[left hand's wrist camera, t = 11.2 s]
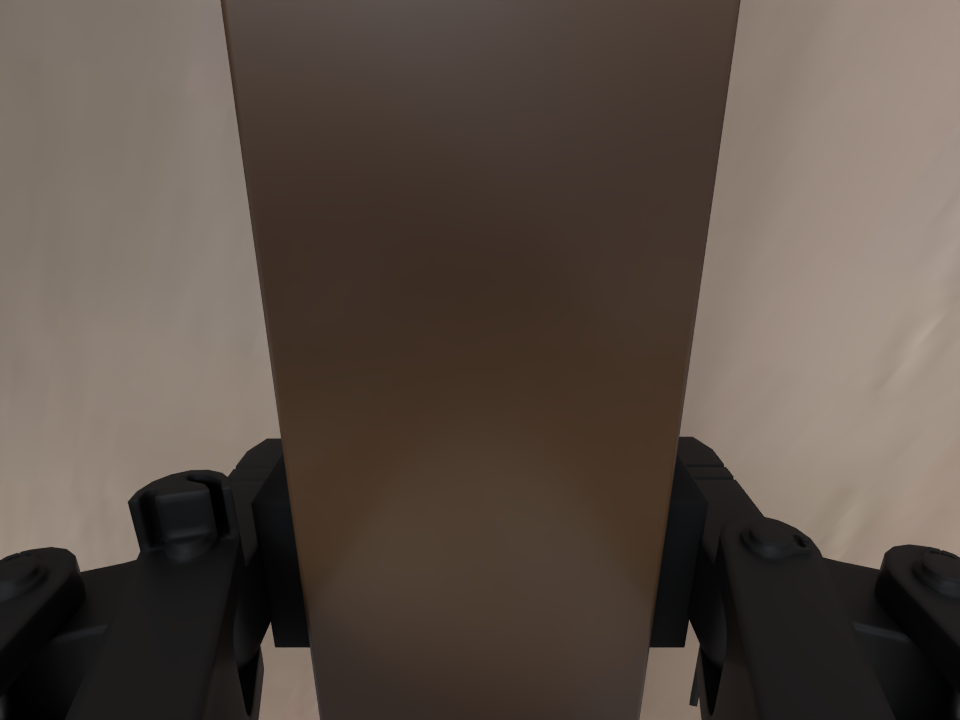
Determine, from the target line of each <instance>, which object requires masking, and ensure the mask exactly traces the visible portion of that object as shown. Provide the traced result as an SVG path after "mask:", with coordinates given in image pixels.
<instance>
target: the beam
mask: <svg viewBox="0 0 960 720" xmlns="http://www.w3.org/2000/svg"><path fill="white" fill-rule="evenodd" d="M221 7H222V15H223V22H224V29H225V36H226V43H227V51H228V58H229V65H230V72H231V79H232V87H233V94H234V101H235V108H236V116H237V123H238V130H239V137H240V144H241V152H242V159H243V166H244V173H245V181H246V188H247V195H248V202H249V209H250V217H251V224H252V231H253V238H254V246H255V253H256V260H257V267H258V274H259V282H260V289H261V296H262V303H263V311H264V318H265V325H266V332H267V339H268V347H269V354H270V361H271V368H272V375H273V383H274V390H275V397H276V404H277V412H278V419H279V426H280V433H281V440H282V448H283V455H284V462H285V469H286V477H287V484H288V491H289V498H290V505H291V513H292V520H293V527H294V534H295V542H296V549H297V556H298V563H299V570H300V578H301V585H302V592H303V599H304V607H305V614H306V621H307V628H308V635H309V643H310V650H311V657H312V664H313V671H314V679H315V686H316V693H317V700H318V708H319V715H320V720H639V718H640V711H641V704H642V697H643V690H644V682H645V675H646V668H647V661H648V654H649V647H650V640H651V633H652V626H653V618H654V611H655V604H656V597H657V590H658V583H659V576H660V569H661V562H662V555H663V547H664V540H665V533H666V526H667V519H668V512H669V505H670V498H671V491H672V483H673V476H674V469H675V462H676V455H677V448H678V441H679V434H680V427H681V419H682V412H683V405H684V398H685V391H686V384H687V377H688V370H689V363H690V356H691V348H692V341H693V334H694V327H695V320H696V313H697V306H698V299H699V292H700V284H701V277H702V270H703V263H704V256H705V249H706V242H707V235H708V228H709V220H710V213H711V206H712V199H713V192H714V185H715V178H716V171H717V164H718V157H719V149H720V142H721V135H722V128H723V121H724V114H725V107H726V100H727V93H728V85H729V78H730V71H731V64H732V57H733V50H734V43H735V36H736V29H737V22H738V14H739V7H740V0H221Z"/></svg>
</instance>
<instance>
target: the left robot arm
mask: <svg viewBox="0 0 960 720" xmlns="http://www.w3.org/2000/svg"><path fill="white" fill-rule="evenodd" d="M128 505H129V508H130V512H131V516H132V520H133V524H134V528H135V532H136V535H137V539H138V543H139V547H140V554H139V556H138V558H137V560H134V561H130V562H127V563H123V564H118V565H113V566H108V567H103V568H99V569H94V570H89V571H84V572H80V569H79V566H78V563H77V559H76V556H75V555H74V554H72V553H71V552H70V551H68V550H67V549H62V548H54V547H48V548H40V549H32V550H27V551H23V552H21V553H16V554H13V555H10V556H7V557H5V558H4V559H2V560H0V720H258V719H259V710H260V702H261V693H262V684H263V675H264V665H263V658H262V652H261V647H260V645H261V642H262V640H263V638H264V635H265V633H266V631H267V629H268V626H269V624H270V622H271V625H272V631H273V637H274V643H275V647H310V643H309V635H308V628H307V621H306V614H305V607H304V599H303V592H302V585H301V578H300V570H299V563H298V556H297V549H296V542H295V534H294V527H293V520H292V513H291V505H290V498H289V491H288V484H287V477H286V469H285V462H284V455H283V448H282V440H281V439H266V440H264V441H263V442H261V443H260V444H258V445H257V446H255V447H253V448H252V449H250V450H249V451H247V453H246V454H245V455H244V456H243V458H242V459H241V460H240V462H239V463H238V464H237V466H236V469H234V470H233V471H232V472H231V473H230V475H229V476H228V477H227V476H225V475H224V474H223V473H220V472H216V471H211V470H190V471H185V472H180V473H176V474H171V475H169V476H166V477H163V478H161V479H158V480H156V481H153V482H151V483H150V484H148V485H147V486H145V487H143V488H142V489H140V490H138V491H137V492H136V493H135V494H134V496H133V497H132V498H131V499H130V500H129V501H128ZM689 620H690V622H691V624H692V627H693V629H694V631H695V633H696V636H697V638H698V640H699V643H700V647H699V652H698V658H697V663H696V669H695V675H694V680H693V686H692V691H691V697H690V704H689V705H692V706H697V704H698V699H699V700H700V709H701V718H702V720H960V557H958V556H956V555H955V554H952V553H949V552H946V551H944V550H942V551H941V550H940V549H936V548H932V547H925V546H917V545H902V546H894V547H892V548H891V549H890V550H888V551H887V552H886V553H885V555H884V558H883V561H882V564H881V567H880V570H878V569H873V568H869V567H864V566H859V565H854V564H849V563H844V562H839V561H835V560H831V559H827V558H824V557H822V555H821V553H820V550H819V549H818V548H817V546H816V545H815V544H814V542H813V541H812V540H811V539H810V538H809V537H808V536H806V535H805V534H803V533H802V532H801V531H799V530H798V529H797V528H794V527H792V526H790V525H788V524H786V523H783V522H781V521H779V520H775V519H771V518H767V517H764V516H763V515H762V513H761V512H760V511H759V509H758V508H757V507H756V505H755V504H754V503H753V502H752V500H751V499H750V498H749V496H748V495H747V494H746V492H745V491H744V490H743V489H742V487H741V486H740V485H739V483H738V482H737V481H736V480H734V479H733V475H732V474H731V473H730V472H729V470H728V469H727V468H726V467H724V464H723V462H722V461H721V460H720V459H719V457H718V456H717V455H716V453H715V452H714V451H713V449H711V448H709V447H708V446H706V445H705V444H703V443H702V442H700V441H698V440H697V439H695V438H694V437H679V441H678V448H677V455H676V462H675V469H674V476H673V483H672V491H671V498H670V505H669V512H668V519H667V526H666V533H665V540H664V547H663V555H662V562H661V569H660V576H659V583H658V590H657V597H656V604H655V611H654V618H653V626H652V633H651V640H650V647H685V641H686V635H687V629H688V623H689Z"/></svg>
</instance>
